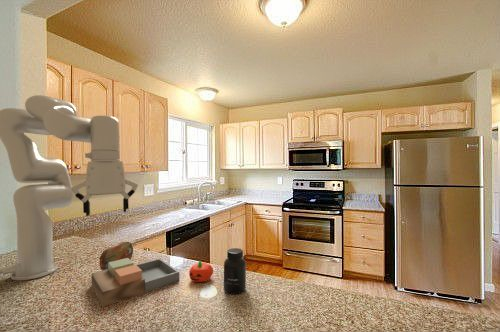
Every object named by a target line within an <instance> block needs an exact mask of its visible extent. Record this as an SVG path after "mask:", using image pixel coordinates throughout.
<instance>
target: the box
mask: <svg viewBox="0 0 500 332" xmlns="http://www.w3.org/2000/svg"><path fill="white" fill-rule="evenodd" d="M136 265H137V266H138V267H139V268H140V269H141V270H142V277H143V278H144V279H145V293H148V292H151V291H154V290H157V289H159V288H163V287H165V286H168V285H172V284H174V283H177V282H179V281H180V270H177V269H176V268H175V267H173V266H172V265H170V264H169V263H167V262H166V261H164V260H163V259H161V258H157V259H152V260H149V261H145V262H142V263H138V264H136Z"/></svg>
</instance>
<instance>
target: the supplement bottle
mask: <svg viewBox="0 0 500 332" xmlns="http://www.w3.org/2000/svg"><path fill="white" fill-rule="evenodd" d="M226 256H227V258H225V260H224V262H223V290H224V292H225V293H226V294H228V295H240V294H243V293H244V292H245V291H246V287H247V284H246V283H247V282H246V281H247V277H246V276H247V262H246V259H244V251H243V249H242V248H237V247H236V248H235V247H233V248H229V249H228V250H227V254H226Z"/></svg>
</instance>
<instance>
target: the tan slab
mask: <svg viewBox="0 0 500 332" xmlns="http://www.w3.org/2000/svg"><path fill="white" fill-rule="evenodd" d="M91 287H92V289H93V291H94V293H95V295H96V297H97V298H98V300H99V302H100V304H101V306H102V307H103V308H105V307H107V306H110V305H113V304H116V303H119V302H121V301H122V302H123V301H125V300H128V299H130V298H133V297H136V296H139V295H142V294H145V293H146V292H145V279H144V278H143V277H142V279H139V280H136V281H133V282H129V283H126V284H123V285H120V284H119V283H118V282H117V280H116V279H115V276H113V275H112V274H111V273H110V272H109V270H108V269H106V270H99V271H95V272H92V273H91Z"/></svg>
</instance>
